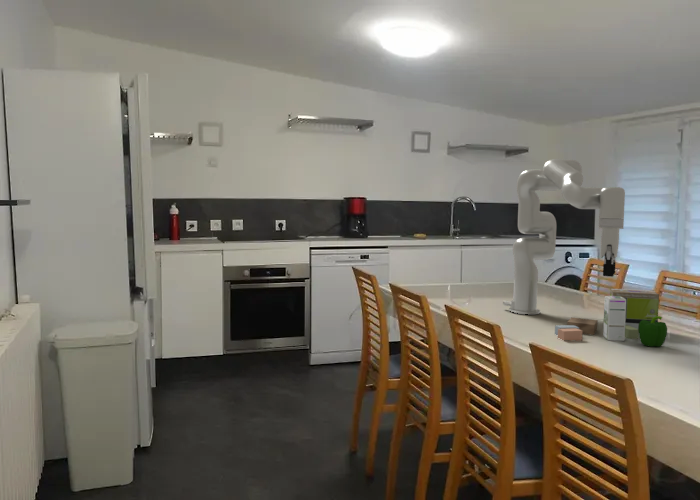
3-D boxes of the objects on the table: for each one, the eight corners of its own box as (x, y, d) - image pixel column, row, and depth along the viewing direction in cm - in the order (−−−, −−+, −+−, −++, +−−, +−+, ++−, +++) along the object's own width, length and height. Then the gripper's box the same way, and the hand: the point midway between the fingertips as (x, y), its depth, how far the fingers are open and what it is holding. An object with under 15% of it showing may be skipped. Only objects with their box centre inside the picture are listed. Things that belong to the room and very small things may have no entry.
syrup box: (625, 341, 189) (627, 298, 188) (606, 340, 190) (608, 298, 189) (620, 337, 195) (622, 296, 193) (601, 336, 196) (604, 295, 194)
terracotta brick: (563, 341, 188) (563, 331, 188) (557, 339, 192) (557, 329, 191) (582, 340, 190) (582, 330, 189) (575, 338, 193) (576, 328, 193)
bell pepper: (631, 344, 185) (633, 314, 185) (646, 341, 189) (648, 312, 189) (655, 350, 178) (657, 319, 177) (671, 347, 182) (673, 316, 181)
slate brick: (559, 337, 194) (559, 327, 193) (554, 335, 197) (555, 325, 197) (578, 337, 195) (579, 327, 194) (573, 335, 198) (574, 325, 198)
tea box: (652, 329, 208) (654, 289, 207) (657, 335, 199) (660, 294, 198) (608, 325, 213) (610, 287, 212) (611, 331, 204) (613, 291, 202)
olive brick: (638, 339, 193) (638, 329, 192) (628, 339, 192) (628, 329, 192) (627, 334, 200) (628, 325, 199) (617, 334, 199) (618, 325, 199)
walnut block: (566, 332, 202) (567, 321, 202) (571, 328, 210) (571, 317, 210) (593, 335, 198) (594, 324, 197) (597, 331, 205) (597, 320, 205)
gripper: (600, 223, 198) (598, 271, 199) (597, 224, 183) (594, 276, 184) (624, 224, 194) (622, 273, 196) (622, 224, 179) (620, 278, 180)
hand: (609, 274), depth 190 cm, fingers open, 9 cm apart
